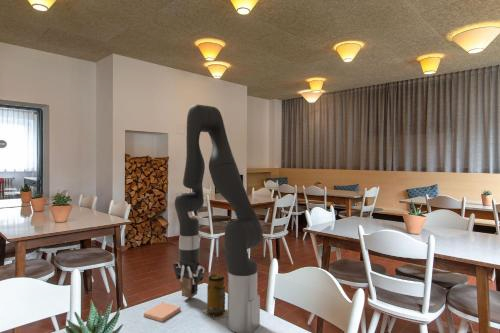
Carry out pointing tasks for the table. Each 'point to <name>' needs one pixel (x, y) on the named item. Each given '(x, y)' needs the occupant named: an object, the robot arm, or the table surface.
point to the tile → (162, 311)
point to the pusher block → (187, 286)
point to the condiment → (216, 297)
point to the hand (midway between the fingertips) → (189, 291)
